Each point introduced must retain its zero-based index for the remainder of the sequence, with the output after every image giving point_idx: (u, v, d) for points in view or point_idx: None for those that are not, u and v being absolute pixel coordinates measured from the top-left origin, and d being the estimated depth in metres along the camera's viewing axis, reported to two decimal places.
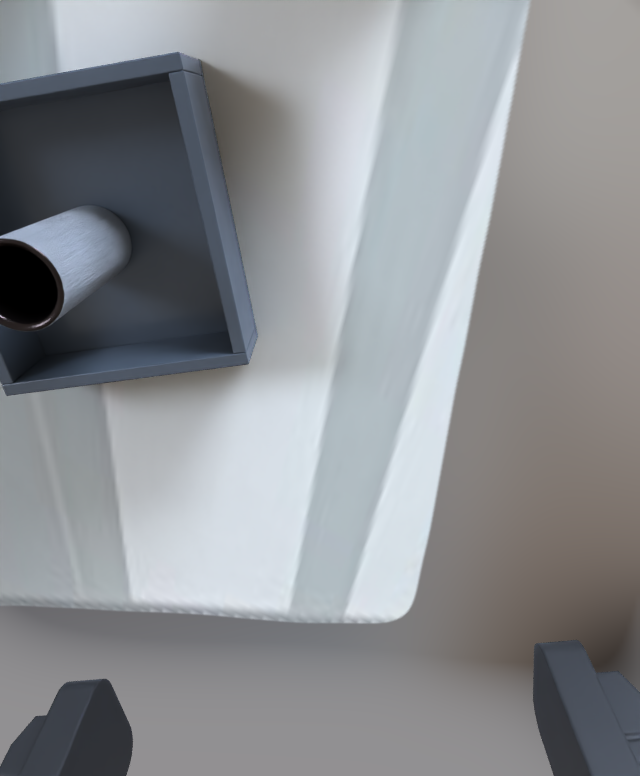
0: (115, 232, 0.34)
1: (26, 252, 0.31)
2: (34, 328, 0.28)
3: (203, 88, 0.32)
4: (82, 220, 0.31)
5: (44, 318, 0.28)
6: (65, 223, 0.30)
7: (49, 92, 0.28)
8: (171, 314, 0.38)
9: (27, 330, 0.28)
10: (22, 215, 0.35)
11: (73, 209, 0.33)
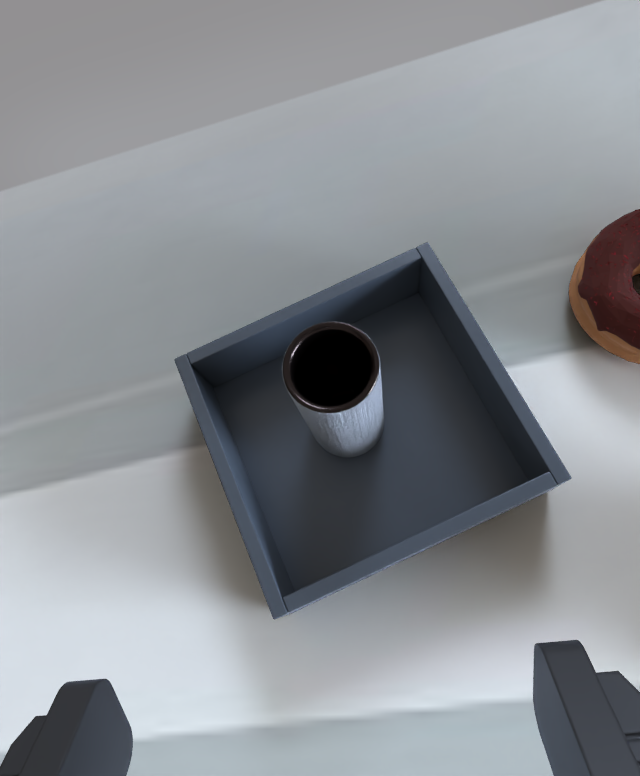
0: (370, 441, 0.33)
1: (340, 365, 0.31)
2: (290, 388, 0.26)
3: None
4: (382, 411, 0.31)
5: (302, 396, 0.26)
6: (382, 398, 0.30)
7: (490, 370, 0.31)
8: (291, 509, 0.34)
9: (285, 381, 0.26)
10: None
11: None
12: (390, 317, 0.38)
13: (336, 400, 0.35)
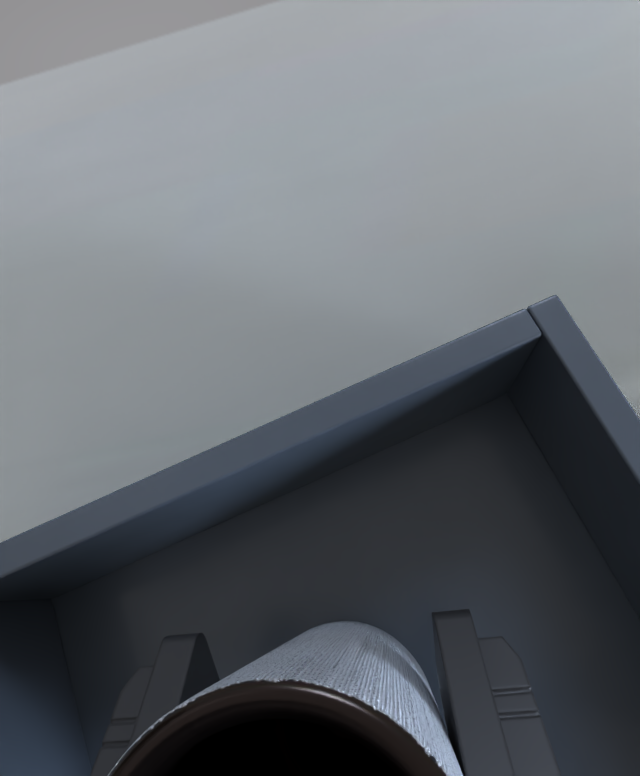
0: None
1: None
2: None
3: None
4: None
5: None
6: None
7: None
8: None
9: None
10: (360, 531, 0.17)
11: None
12: (444, 449, 0.17)
13: None
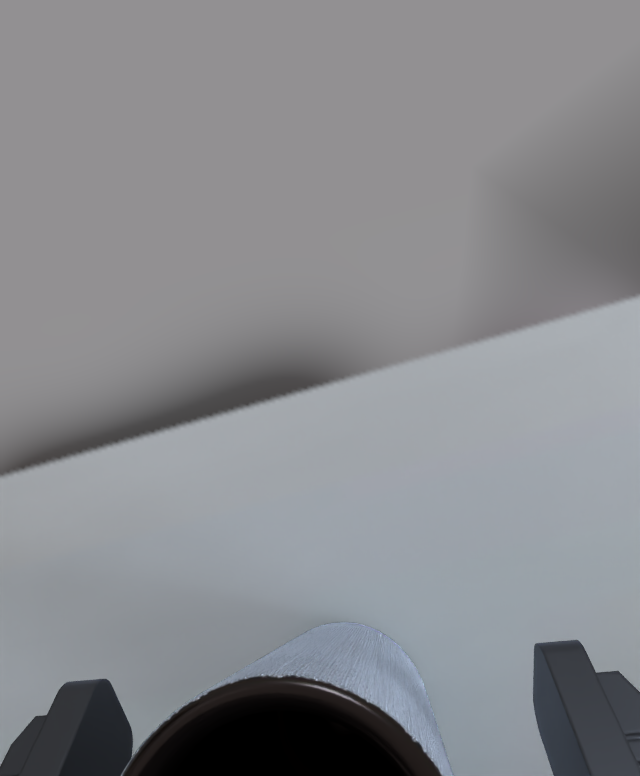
0: None
1: None
2: None
3: None
4: None
5: None
6: None
7: None
8: None
9: None
10: None
11: (424, 688, 0.14)
12: None
13: None
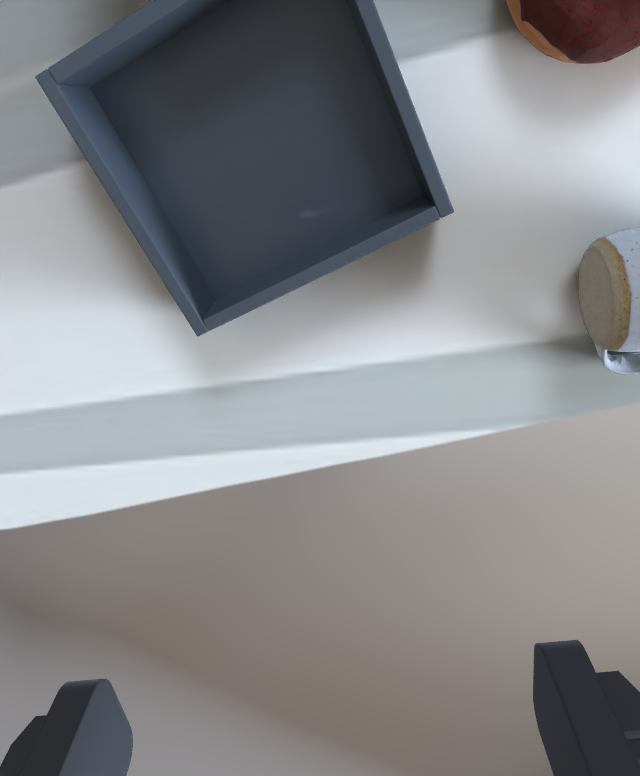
0: None
1: None
2: None
3: None
4: None
5: None
6: None
7: (392, 93, 0.29)
8: (200, 224, 0.36)
9: None
10: (245, 38, 0.32)
11: None
12: None
13: None
